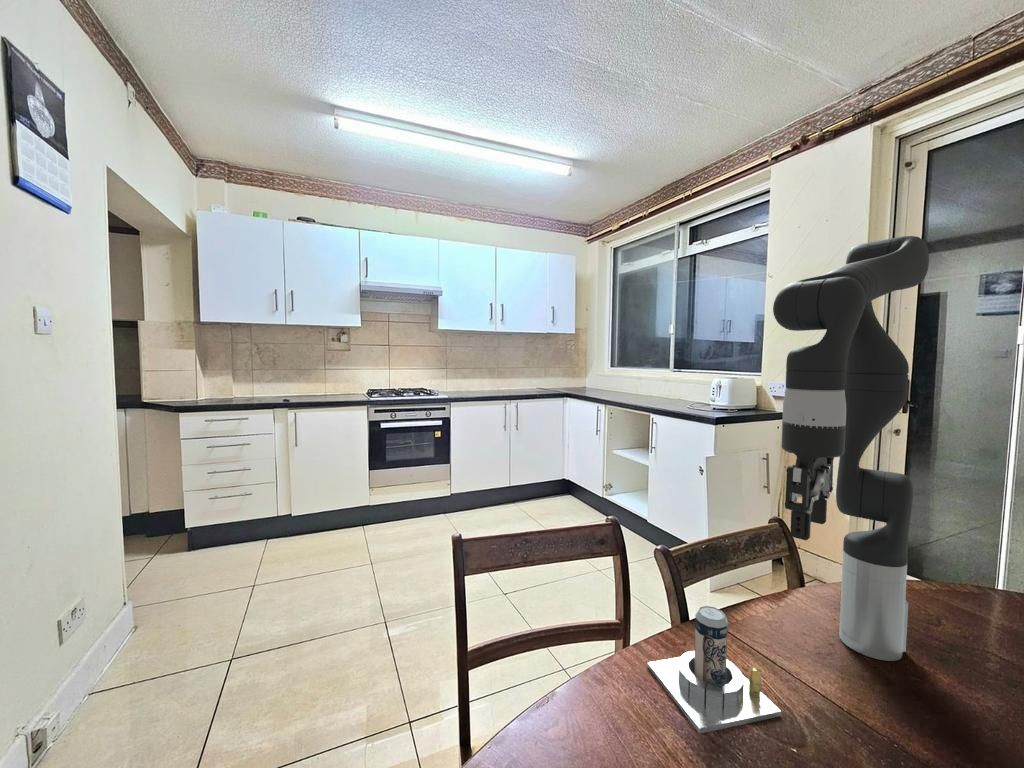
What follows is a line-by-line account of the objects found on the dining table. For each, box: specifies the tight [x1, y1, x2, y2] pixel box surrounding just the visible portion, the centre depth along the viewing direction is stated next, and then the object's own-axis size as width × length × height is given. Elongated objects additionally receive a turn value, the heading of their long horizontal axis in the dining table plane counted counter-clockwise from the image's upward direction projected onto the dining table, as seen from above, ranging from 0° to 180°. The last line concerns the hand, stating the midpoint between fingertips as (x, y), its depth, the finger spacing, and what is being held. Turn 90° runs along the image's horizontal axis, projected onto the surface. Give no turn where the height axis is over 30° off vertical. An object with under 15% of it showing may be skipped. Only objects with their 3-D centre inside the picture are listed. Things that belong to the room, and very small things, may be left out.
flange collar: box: [647, 650, 782, 735], centre depth 71 cm, size 14×14×5 cm
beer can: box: [694, 605, 729, 686], centre depth 71 cm, size 5×5×12 cm
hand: (808, 529), depth 64 cm, fingers open, 8 cm apart
